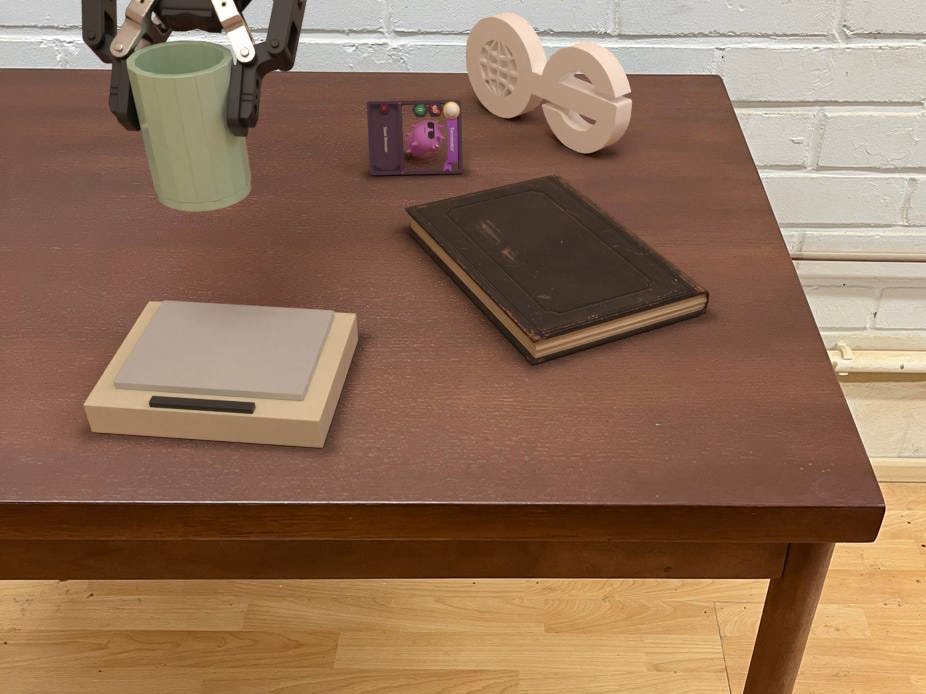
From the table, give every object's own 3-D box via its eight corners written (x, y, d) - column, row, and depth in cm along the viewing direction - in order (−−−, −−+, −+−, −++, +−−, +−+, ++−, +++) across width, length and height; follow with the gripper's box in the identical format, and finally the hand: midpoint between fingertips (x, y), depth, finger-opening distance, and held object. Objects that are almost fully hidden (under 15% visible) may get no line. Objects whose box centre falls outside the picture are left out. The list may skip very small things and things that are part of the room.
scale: (91, 432, 68) (80, 397, 66) (155, 327, 78) (147, 293, 76) (322, 448, 67) (318, 413, 65) (358, 339, 77) (355, 306, 75)
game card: (366, 101, 95) (461, 100, 95) (368, 99, 99) (458, 98, 100) (370, 175, 97) (463, 173, 98) (371, 170, 102) (460, 168, 103)
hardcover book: (532, 365, 75) (533, 339, 73) (406, 231, 90) (405, 207, 88) (707, 313, 80) (711, 288, 79) (560, 195, 95) (562, 172, 94)
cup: (142, 209, 64) (110, 74, 58) (173, 167, 69) (146, 38, 63) (237, 214, 64) (215, 79, 58) (262, 171, 68) (243, 42, 63)
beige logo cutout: (465, 101, 112) (465, 6, 105) (480, 96, 113) (481, 2, 107) (610, 167, 100) (621, 63, 93) (625, 160, 101) (637, 58, 94)
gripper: (65, -180, 59) (39, 98, 58) (305, -173, 58) (282, 109, 58) (118, -100, 67) (95, 147, 66) (331, -93, 66) (311, 157, 65)
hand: (182, 128), depth 62 cm, fingers closed on cup, 6 cm apart
